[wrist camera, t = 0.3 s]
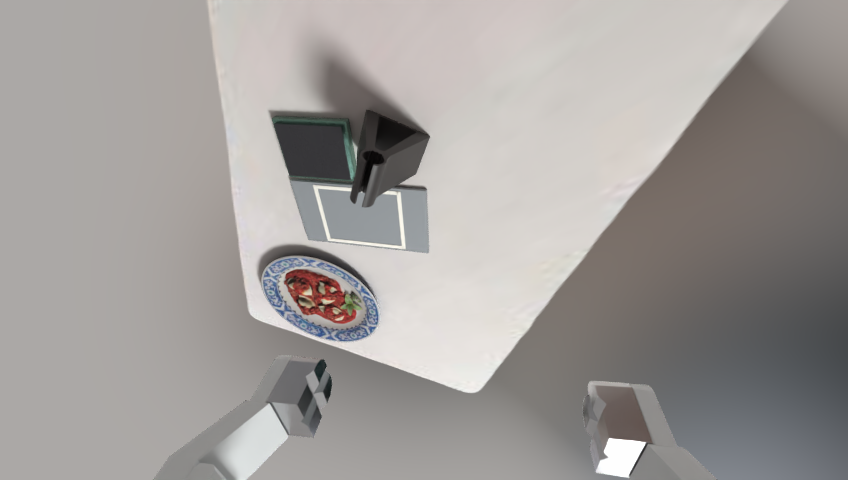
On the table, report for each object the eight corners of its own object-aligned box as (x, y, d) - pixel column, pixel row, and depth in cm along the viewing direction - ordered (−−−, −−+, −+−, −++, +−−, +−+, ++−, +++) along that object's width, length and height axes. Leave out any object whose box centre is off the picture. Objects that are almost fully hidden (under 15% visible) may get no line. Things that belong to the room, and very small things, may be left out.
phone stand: (358, 147, 50) (321, 190, 41) (367, 108, 46) (329, 146, 37) (416, 172, 50) (393, 220, 41) (430, 136, 46) (408, 180, 37)
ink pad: (275, 116, 49) (269, 120, 48) (348, 118, 47) (343, 123, 46) (292, 173, 55) (287, 178, 54) (358, 178, 53) (354, 183, 52)
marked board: (291, 178, 56) (289, 181, 55) (426, 189, 51) (425, 191, 51) (310, 237, 63) (308, 240, 63) (429, 250, 59) (428, 253, 58)
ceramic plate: (275, 317, 83) (268, 327, 80) (257, 234, 66) (248, 244, 64) (379, 345, 81) (375, 357, 79) (388, 268, 64) (383, 280, 62)
